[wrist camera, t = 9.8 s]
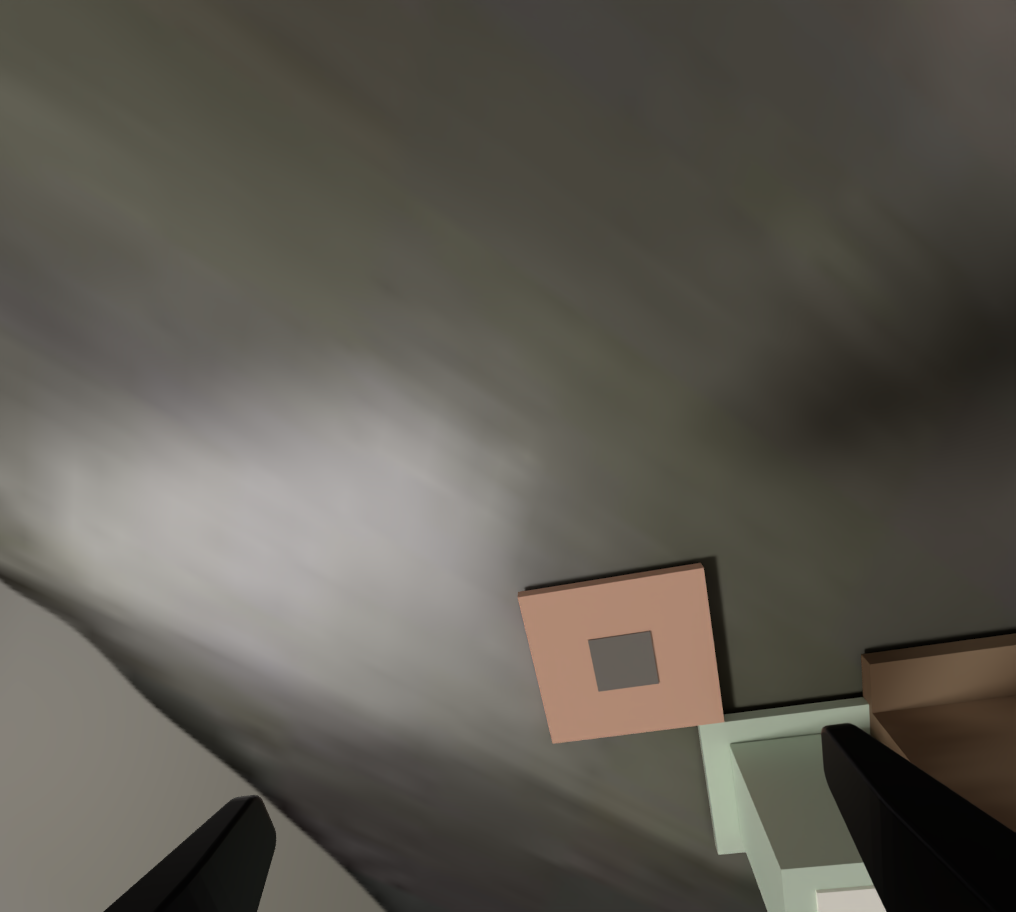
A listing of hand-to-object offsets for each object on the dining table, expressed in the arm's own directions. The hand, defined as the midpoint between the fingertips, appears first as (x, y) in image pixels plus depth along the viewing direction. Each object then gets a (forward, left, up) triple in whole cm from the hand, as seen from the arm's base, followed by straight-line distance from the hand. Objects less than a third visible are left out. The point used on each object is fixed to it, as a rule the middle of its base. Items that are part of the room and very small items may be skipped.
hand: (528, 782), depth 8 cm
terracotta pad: (-2, +7, -12) cm, 14 cm away
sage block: (-8, +14, -12) cm, 20 cm away
